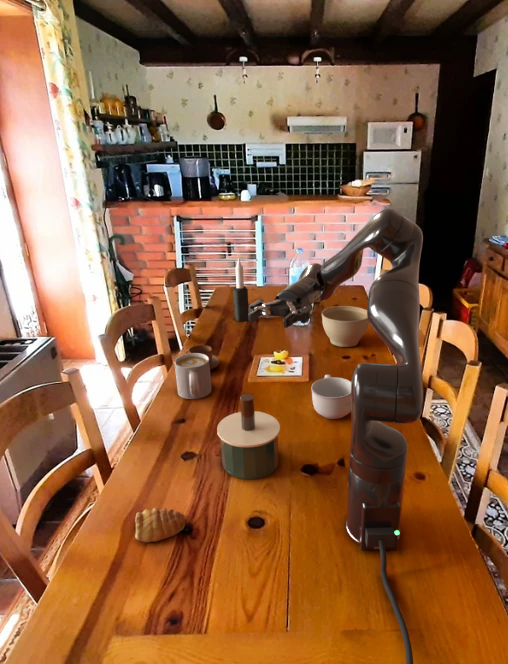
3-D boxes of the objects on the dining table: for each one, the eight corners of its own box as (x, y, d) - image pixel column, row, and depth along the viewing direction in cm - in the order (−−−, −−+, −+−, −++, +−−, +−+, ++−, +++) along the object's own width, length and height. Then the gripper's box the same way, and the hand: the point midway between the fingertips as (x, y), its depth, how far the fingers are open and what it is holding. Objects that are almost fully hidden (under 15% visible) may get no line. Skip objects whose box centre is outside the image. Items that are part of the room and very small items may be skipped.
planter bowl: (371, 352, 160) (372, 321, 156) (321, 351, 163) (322, 321, 159) (366, 333, 175) (367, 305, 171) (320, 333, 178) (321, 305, 173)
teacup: (354, 425, 120) (355, 397, 117) (310, 422, 123) (310, 395, 120) (352, 398, 133) (353, 371, 130) (312, 396, 135) (312, 370, 132)
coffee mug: (181, 382, 147) (178, 353, 143) (213, 383, 146) (211, 352, 142) (171, 405, 135) (167, 373, 131) (206, 405, 134) (203, 373, 130)
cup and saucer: (178, 374, 153) (176, 356, 151) (190, 358, 164) (188, 341, 162) (214, 376, 150) (213, 358, 148) (224, 360, 161) (223, 342, 159)
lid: (282, 448, 100) (281, 412, 96) (215, 451, 100) (212, 415, 97) (277, 413, 113) (277, 381, 109) (218, 416, 113) (216, 383, 110)
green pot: (280, 478, 103) (279, 445, 100) (221, 480, 104) (218, 447, 101) (276, 444, 115) (275, 413, 112) (223, 446, 115) (221, 415, 112)
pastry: (183, 512, 95) (181, 497, 94) (187, 538, 89) (185, 522, 88) (135, 521, 94) (132, 505, 92) (136, 547, 88) (133, 531, 86)
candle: (234, 318, 199) (230, 257, 189) (245, 316, 200) (242, 256, 191) (237, 321, 194) (234, 260, 185) (249, 319, 196) (247, 258, 186)
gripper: (268, 282, 122) (238, 301, 109) (323, 287, 115) (297, 308, 102) (269, 310, 124) (239, 332, 112) (322, 317, 118) (297, 341, 105)
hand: (267, 321), depth 107 cm, fingers open, 8 cm apart
